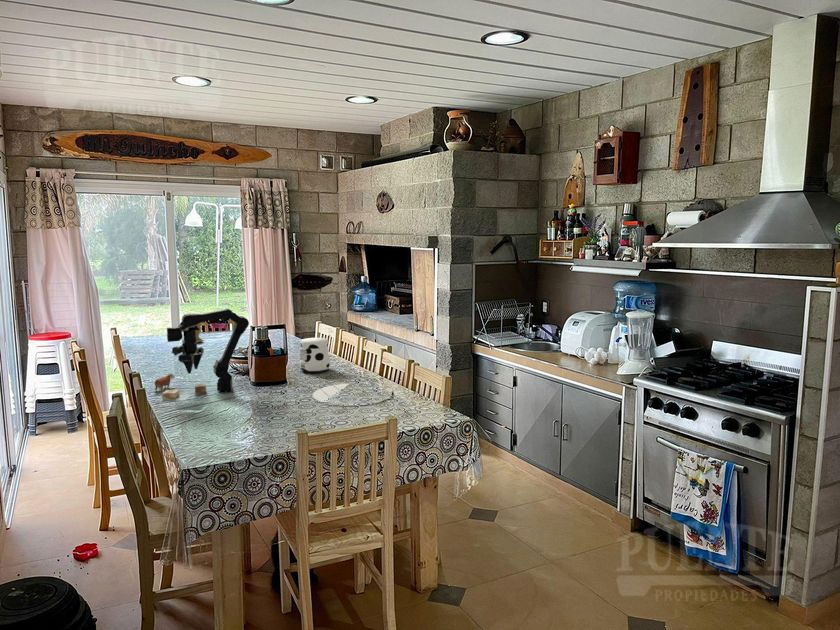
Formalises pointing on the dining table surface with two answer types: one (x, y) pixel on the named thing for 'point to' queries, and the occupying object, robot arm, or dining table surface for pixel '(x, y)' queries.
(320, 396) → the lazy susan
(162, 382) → the bull figurine
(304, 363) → the milk container
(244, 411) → the dining table surface
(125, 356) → the dining table surface
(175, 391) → the oak base block
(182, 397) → the mat
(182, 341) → the stone cup
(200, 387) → the walnut cube
